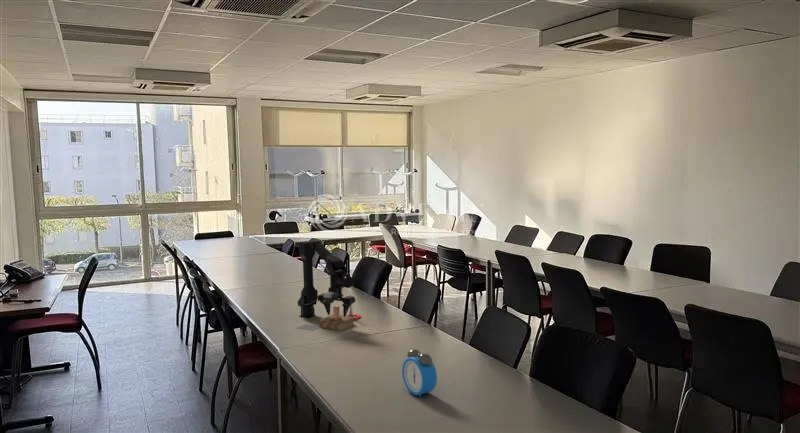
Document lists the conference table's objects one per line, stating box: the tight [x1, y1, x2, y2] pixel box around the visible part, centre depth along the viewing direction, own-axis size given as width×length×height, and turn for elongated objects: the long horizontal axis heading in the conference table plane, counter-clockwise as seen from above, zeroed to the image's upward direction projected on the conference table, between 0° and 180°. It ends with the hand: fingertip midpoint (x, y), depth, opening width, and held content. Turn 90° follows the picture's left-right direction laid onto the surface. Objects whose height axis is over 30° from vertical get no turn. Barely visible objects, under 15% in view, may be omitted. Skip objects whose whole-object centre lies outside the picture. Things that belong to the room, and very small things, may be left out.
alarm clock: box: [401, 348, 438, 398], centre depth 201 cm, size 13×6×15 cm, turn 35°
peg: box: [332, 305, 340, 320], centre depth 285 cm, size 3×3×10 cm
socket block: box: [319, 314, 354, 331], centre depth 285 cm, size 12×12×4 cm
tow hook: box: [346, 294, 362, 321], centre depth 300 cm, size 8×13×9 cm
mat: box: [296, 323, 320, 332], centre depth 283 cm, size 10×8×1 cm
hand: (336, 315), depth 285 cm, fingers open, 9 cm apart
